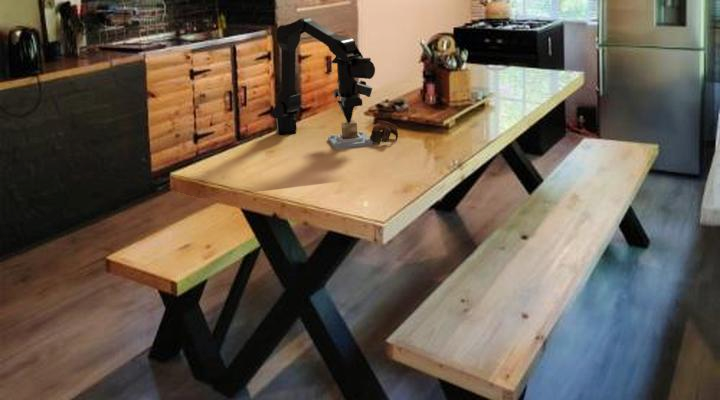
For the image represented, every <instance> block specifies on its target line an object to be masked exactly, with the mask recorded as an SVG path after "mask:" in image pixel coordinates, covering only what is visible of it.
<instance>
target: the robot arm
mask: <svg viewBox="0 0 720 400" xmlns="http://www.w3.org/2000/svg"><path fill="white" fill-rule="evenodd" d="M275 32H276V41H277V44H278V46H279V48H280V50H281V63H280V64H281V65H280V66H281V69H280V70H281V73H280V74H281V77H280V78H281V79H280V80H281V81H280V82H281V84H280V85H281V89H280V90H279V92H278V95H277V97H276V103H275V106H274V108H273V109H272V110H271V111H270V114H271V117H272V119H275V120H276V132H277V134H278V136H283V135H291V134H297V129H298V128H297V119H296V118H295V115H298V113H299V109H300V106H301V105H302V102H301V99H302V94H301V93H298V92H297V90H296V49H297V48H298V47H299V44H300V41H301V37H302V36H301V35H303V34H304V33H306V34H307V35H308V36H311V37H312V38H314V39H315V40H317V41H319V42H321V43H322V44H324V45H325V46H326V47H328V50H329V51H330V52H331V53H332V54H333V55H334V56H335V57H334V58H333V59H332V61H331V64H336V65H337V66H336V67H337V68H336V69H337V71H336V72H337V79H336V83H338V84H337V85H338V88H335V89H334V90H333V97H334V99H337V98H339V100H337V103H338V106H339V107H340V110H341V112H342V114H343V116H344V118H345V121H347V122H351V120H352V117H353V112H354V108H355V107H361V106H363V99H362V98H360V96H359V95H363V96H366V97H367V98H370V97H371V95H372V91H373V87H371V86H370V85H368V84H367V82H366V81H365V80H366V79H367V80H371V79H373V77H374V76H375V73H376V67H375V64H374V63H373V62H372V61H371V57H364V55H363V54H362V52H361V51H360V50H359V48H358V46H357V44H356V41H355V40H354V39H353V38H351V37H349V36H345V35H342V34H336V33H334V32H332V30H329V29H328V28H326V27H325V26H323V25H321V24H319V23H318V22H316V21H314V20H313V19H312V18H311V17H301V18H299V19H297V20H296V21H294V22H291V23H287V24H281V25H279V26H278V27H276V31H275ZM356 79H360V81H359V82H358V80H356ZM361 79H365V80H361Z"/></svg>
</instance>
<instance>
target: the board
mask: <svg viewBox="0 0 720 400" xmlns="http://www.w3.org/2000/svg"><path fill="white" fill-rule="evenodd" d="M357 134H358V138H352V139H342V133H341V134H337V135H336V134H334V133H333V134H330V136H327V140H328V142H329V143H330V144H331V146H332V147H333V148H334V149H335V150H342V149H351V148H359V147H360V148H361V147H369V146H374V143H373V142H372V141H371V140H370V137H369V136H368V135H366V133H365V132H363V131H357Z"/></svg>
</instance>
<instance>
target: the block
mask: <svg viewBox="0 0 720 400" xmlns="http://www.w3.org/2000/svg"><path fill="white" fill-rule="evenodd" d="M340 124H341V134H342V139H352V138H358V134H357V133H358V123H357V121H355V120H354V119H353V120H352V119H351V122H347V120H343V121H342V120H341V122H340Z"/></svg>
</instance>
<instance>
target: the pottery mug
mask: <svg viewBox="0 0 720 400" xmlns="http://www.w3.org/2000/svg"><path fill="white" fill-rule="evenodd" d="M377 121H378V122H377V123H376V124H374V125H373V127H372V129H371V135H370V136H369V139H370V140H371V141H372V142H373V144H377V145H380V144H381V141H382V143H388V142H389V140H390V137H391V134H392V135H394V136H395V140H398V138H399V132H398V129H399V127H398V126H397V125H396V124H393V123H391V122H389V121H386V120H377Z"/></svg>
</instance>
